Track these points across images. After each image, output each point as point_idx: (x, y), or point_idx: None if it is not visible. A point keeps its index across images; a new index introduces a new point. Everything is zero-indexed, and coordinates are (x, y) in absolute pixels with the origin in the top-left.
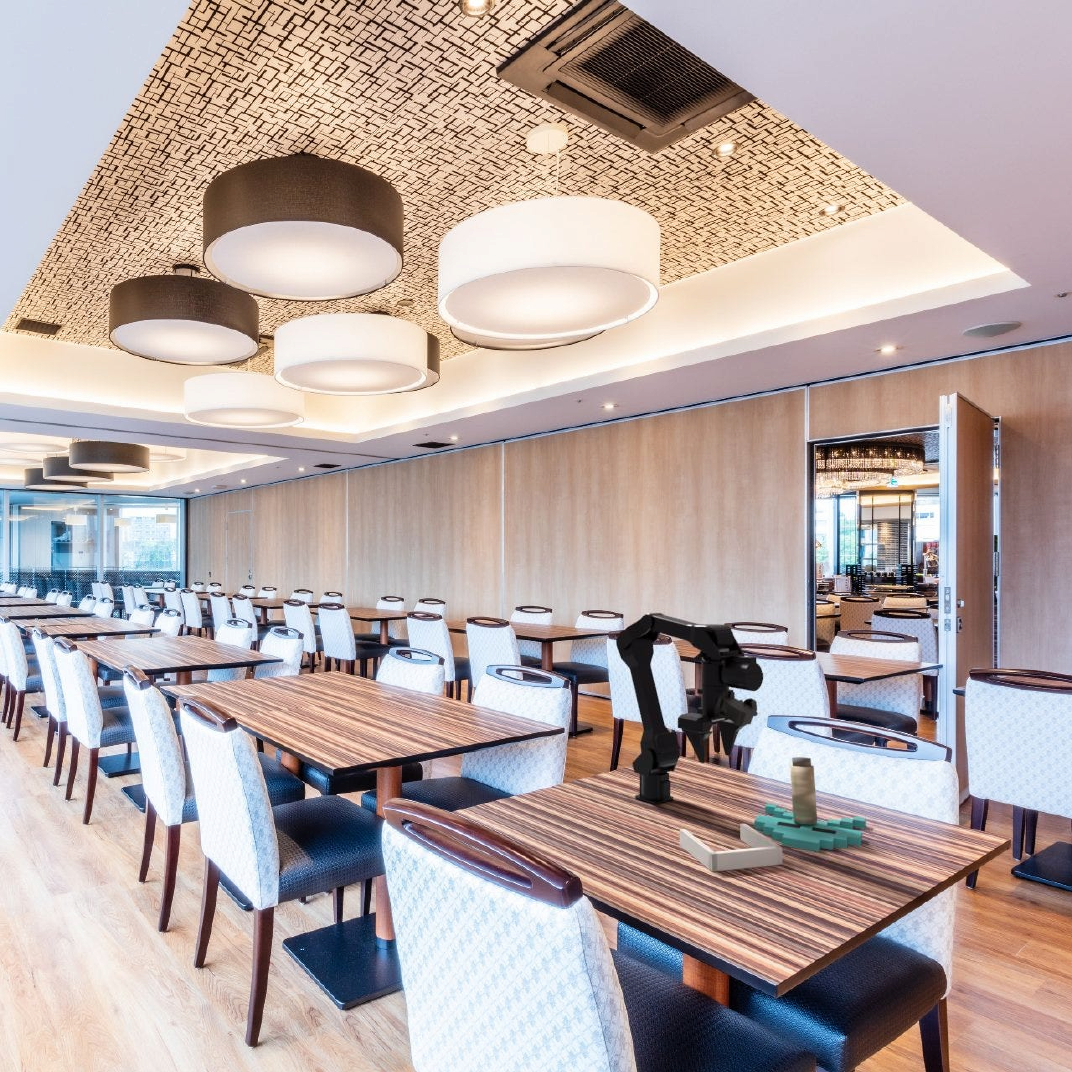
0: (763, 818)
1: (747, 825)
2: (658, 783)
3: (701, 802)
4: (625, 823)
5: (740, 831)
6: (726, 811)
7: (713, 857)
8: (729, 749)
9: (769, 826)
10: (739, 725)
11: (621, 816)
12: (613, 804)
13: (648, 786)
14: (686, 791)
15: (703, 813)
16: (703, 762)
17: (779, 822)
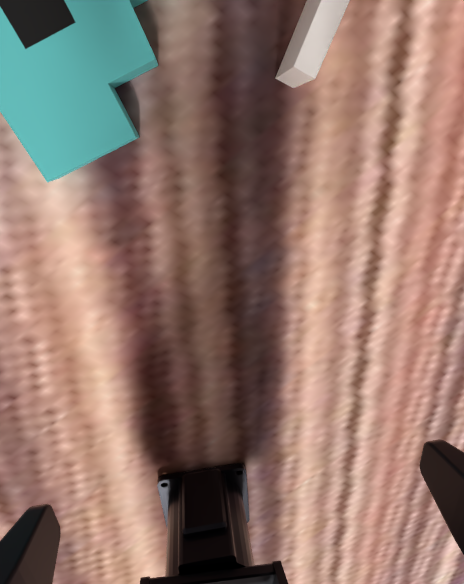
0: (66, 133)
1: (308, 36)
2: (231, 529)
3: (95, 427)
4: (426, 398)
5: (303, 83)
6: (84, 330)
7: None
8: (22, 571)
9: (131, 32)
10: None
11: (387, 437)
12: (326, 503)
13: (247, 531)
14: (60, 510)
15: (176, 354)
16: (445, 442)
17: (34, 34)
